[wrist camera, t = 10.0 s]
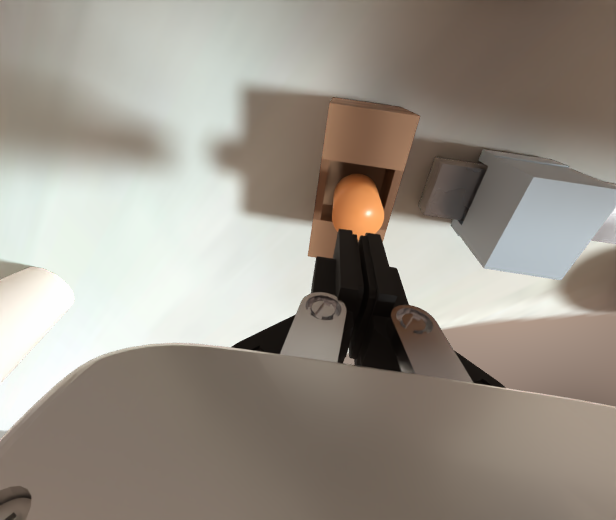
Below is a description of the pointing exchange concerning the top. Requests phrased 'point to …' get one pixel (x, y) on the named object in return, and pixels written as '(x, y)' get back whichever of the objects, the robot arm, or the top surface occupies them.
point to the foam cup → (29, 312)
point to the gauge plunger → (357, 205)
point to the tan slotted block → (360, 160)
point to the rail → (473, 193)
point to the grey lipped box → (533, 215)
